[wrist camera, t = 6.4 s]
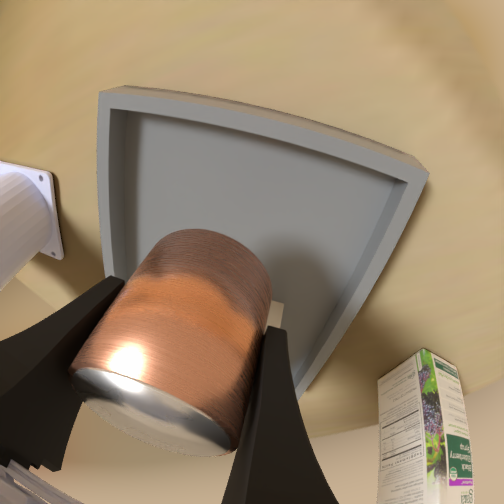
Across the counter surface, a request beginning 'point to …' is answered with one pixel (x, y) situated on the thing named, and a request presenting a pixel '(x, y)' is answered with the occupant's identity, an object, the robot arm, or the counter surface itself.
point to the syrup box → (423, 434)
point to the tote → (256, 201)
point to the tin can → (180, 345)
